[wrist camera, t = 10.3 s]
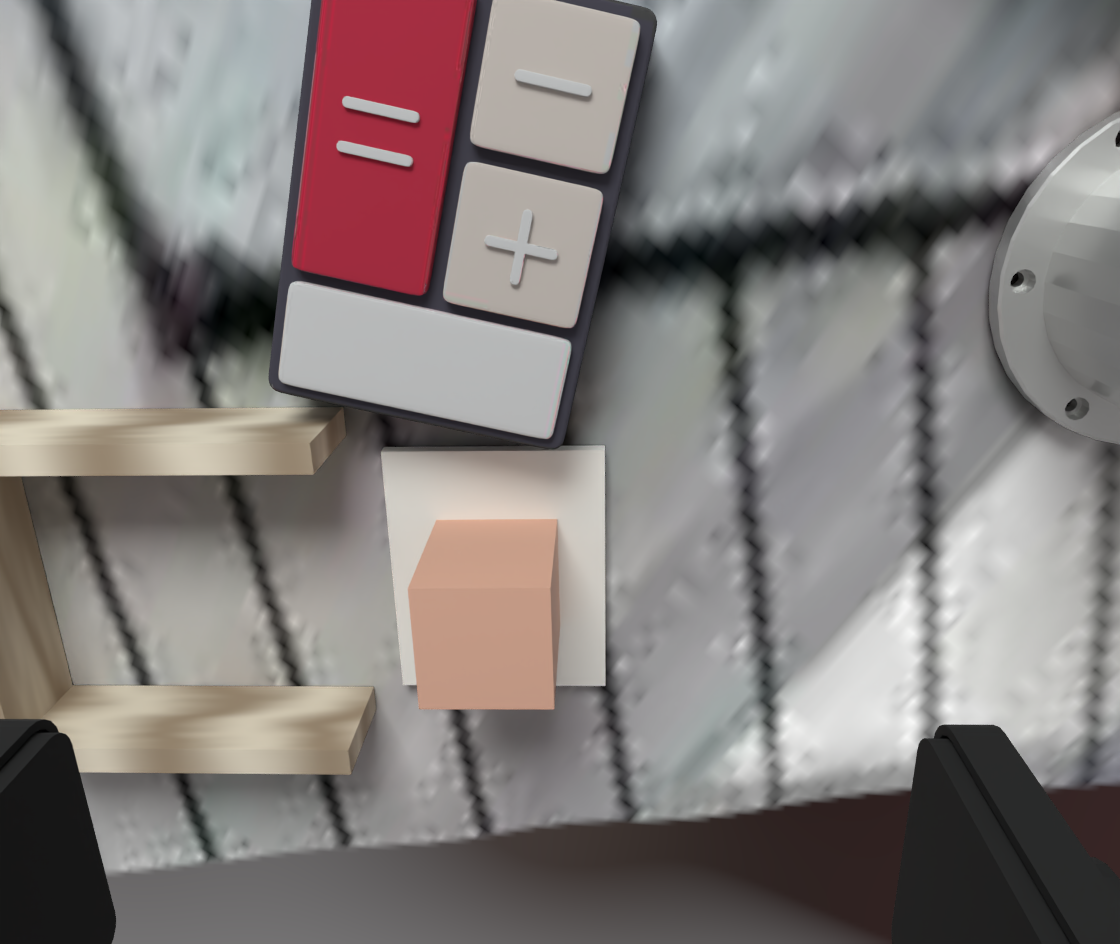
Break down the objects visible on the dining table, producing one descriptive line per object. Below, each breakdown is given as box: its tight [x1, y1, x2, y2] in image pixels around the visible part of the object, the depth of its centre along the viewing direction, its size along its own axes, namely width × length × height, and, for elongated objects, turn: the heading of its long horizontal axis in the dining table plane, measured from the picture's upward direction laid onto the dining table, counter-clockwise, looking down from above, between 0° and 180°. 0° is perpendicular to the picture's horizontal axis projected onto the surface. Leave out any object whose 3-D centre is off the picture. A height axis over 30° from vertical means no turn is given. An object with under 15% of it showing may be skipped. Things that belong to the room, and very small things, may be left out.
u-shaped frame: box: [0, 407, 376, 775], centre depth 37 cm, size 15×14×4 cm
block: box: [408, 519, 560, 709], centre depth 35 cm, size 5×5×6 cm
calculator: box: [269, 0, 657, 450], centre depth 32 cm, size 11×4×15 cm
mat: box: [381, 445, 605, 686], centre depth 38 cm, size 9×11×1 cm
